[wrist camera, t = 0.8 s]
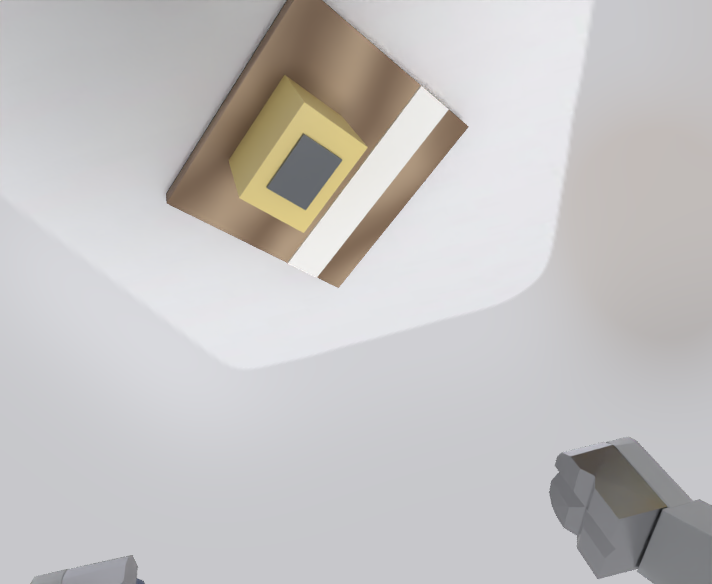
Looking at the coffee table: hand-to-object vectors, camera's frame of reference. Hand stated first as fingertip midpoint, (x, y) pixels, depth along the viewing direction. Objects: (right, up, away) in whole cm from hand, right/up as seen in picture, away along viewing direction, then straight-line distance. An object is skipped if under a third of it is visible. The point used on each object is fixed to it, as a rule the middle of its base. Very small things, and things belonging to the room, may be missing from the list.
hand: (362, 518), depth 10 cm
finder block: (-5, +15, +28) cm, 32 cm away
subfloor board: (-3, +15, +31) cm, 35 cm away
